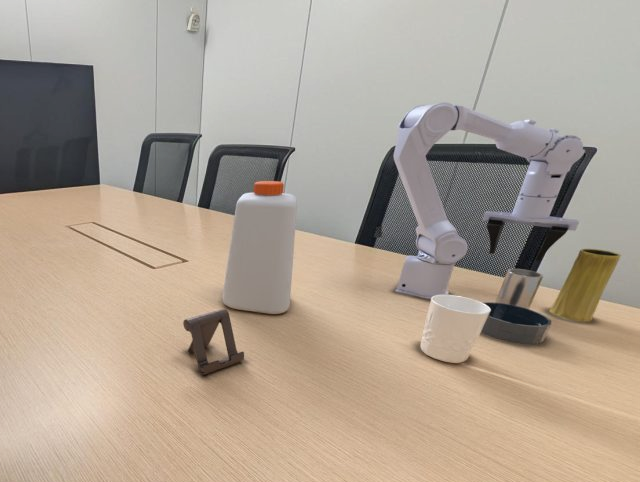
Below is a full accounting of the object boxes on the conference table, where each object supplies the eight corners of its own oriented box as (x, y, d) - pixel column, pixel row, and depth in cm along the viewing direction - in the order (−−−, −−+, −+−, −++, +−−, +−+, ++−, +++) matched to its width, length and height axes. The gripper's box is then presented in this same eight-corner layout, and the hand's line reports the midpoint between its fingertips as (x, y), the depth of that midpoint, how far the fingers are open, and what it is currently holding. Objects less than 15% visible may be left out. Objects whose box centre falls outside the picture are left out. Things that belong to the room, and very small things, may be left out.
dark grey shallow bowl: (464, 331, 75) (471, 313, 73) (472, 314, 82) (478, 297, 80) (542, 352, 68) (551, 332, 66) (543, 331, 74) (551, 313, 73)
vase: (600, 323, 76) (635, 257, 71) (564, 321, 78) (595, 256, 72) (573, 310, 82) (604, 248, 76) (540, 309, 83) (568, 247, 78)
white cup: (459, 345, 70) (477, 297, 66) (480, 368, 63) (501, 316, 59) (409, 339, 73) (424, 292, 69) (424, 361, 66) (441, 310, 62)
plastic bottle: (218, 309, 87) (228, 186, 77) (228, 286, 100) (237, 177, 89) (288, 318, 82) (308, 187, 71) (289, 293, 95) (306, 178, 84)
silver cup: (491, 311, 83) (506, 272, 79) (494, 303, 86) (508, 266, 83) (526, 318, 79) (543, 279, 76) (527, 310, 83) (543, 272, 79)
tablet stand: (204, 377, 63) (206, 334, 60) (177, 355, 69) (178, 315, 66) (243, 363, 67) (248, 321, 63) (214, 343, 73) (217, 304, 70)
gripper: (590, 196, 77) (563, 259, 82) (496, 190, 87) (477, 246, 93) (587, 200, 73) (559, 266, 78) (489, 194, 83) (469, 252, 89)
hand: (514, 256), depth 85 cm, fingers open, 7 cm apart
